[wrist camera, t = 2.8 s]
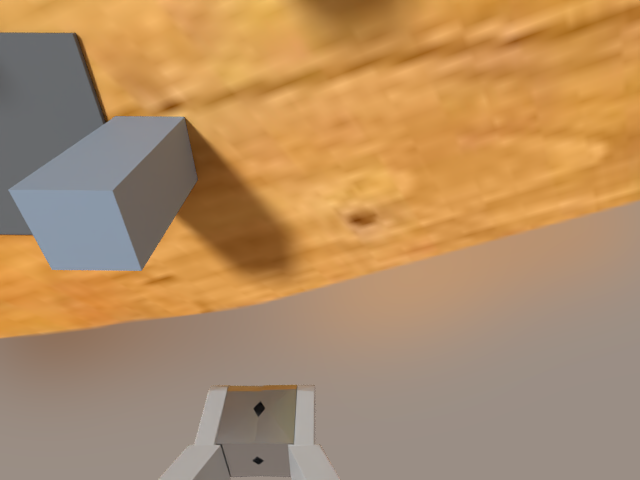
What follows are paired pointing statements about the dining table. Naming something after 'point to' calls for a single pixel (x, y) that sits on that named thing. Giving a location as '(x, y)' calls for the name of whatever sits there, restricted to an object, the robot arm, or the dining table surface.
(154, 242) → the block
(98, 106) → the mat
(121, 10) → the dining table surface
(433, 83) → the dining table surface
